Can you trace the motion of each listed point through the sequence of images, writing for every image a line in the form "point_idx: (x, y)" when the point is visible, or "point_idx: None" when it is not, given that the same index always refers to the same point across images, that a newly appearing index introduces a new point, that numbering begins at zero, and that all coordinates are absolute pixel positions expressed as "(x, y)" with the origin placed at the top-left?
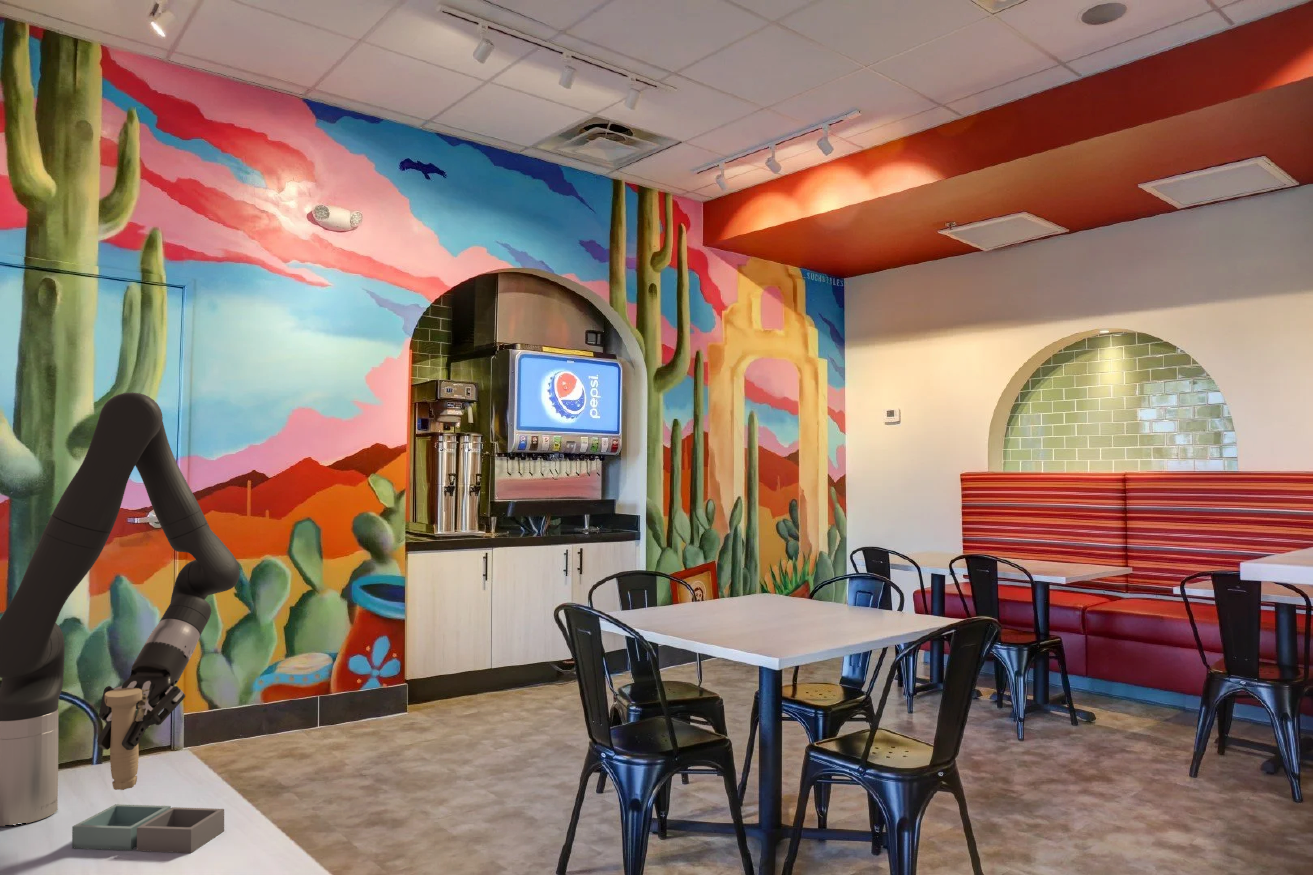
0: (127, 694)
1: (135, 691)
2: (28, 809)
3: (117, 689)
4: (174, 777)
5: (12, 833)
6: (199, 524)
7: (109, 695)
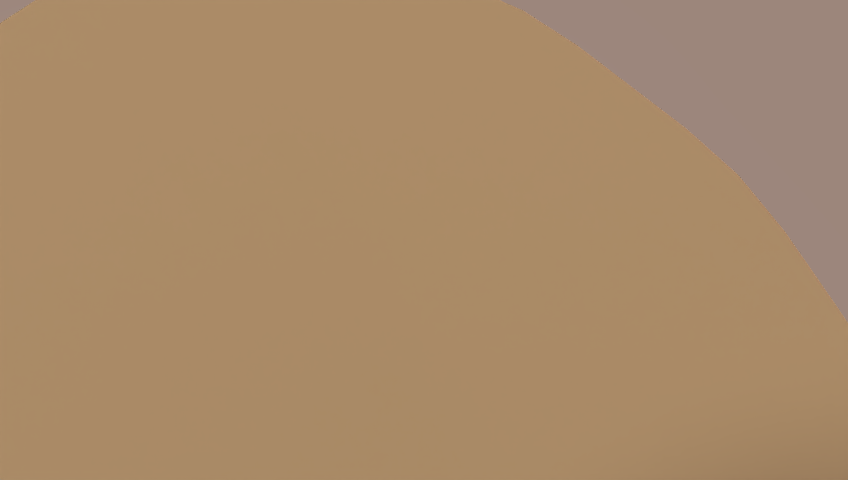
0: (162, 101)
1: (71, 427)
2: None
3: None
4: None
5: None
6: None
7: (575, 95)
